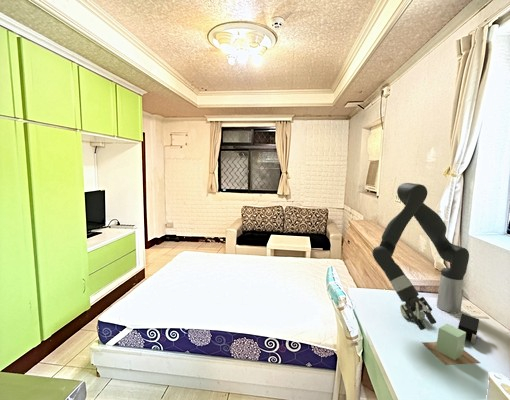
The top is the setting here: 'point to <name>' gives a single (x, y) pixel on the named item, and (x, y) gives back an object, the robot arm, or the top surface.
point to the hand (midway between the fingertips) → (428, 326)
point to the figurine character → (469, 327)
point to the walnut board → (463, 359)
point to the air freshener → (421, 315)
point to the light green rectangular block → (450, 341)
